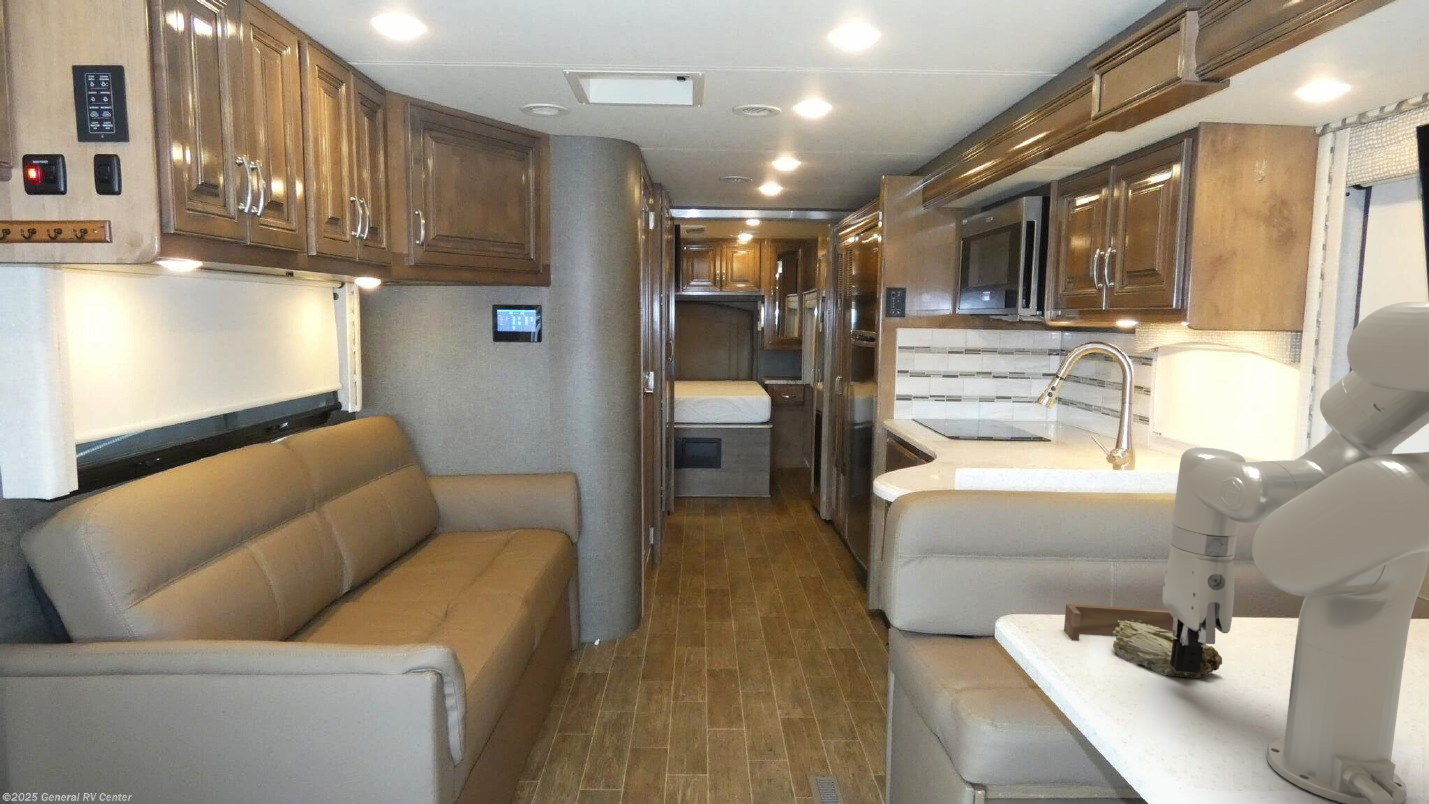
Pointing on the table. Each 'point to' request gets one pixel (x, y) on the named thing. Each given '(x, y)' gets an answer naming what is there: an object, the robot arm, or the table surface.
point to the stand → (1110, 619)
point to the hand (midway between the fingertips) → (1184, 669)
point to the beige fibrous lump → (1157, 649)
